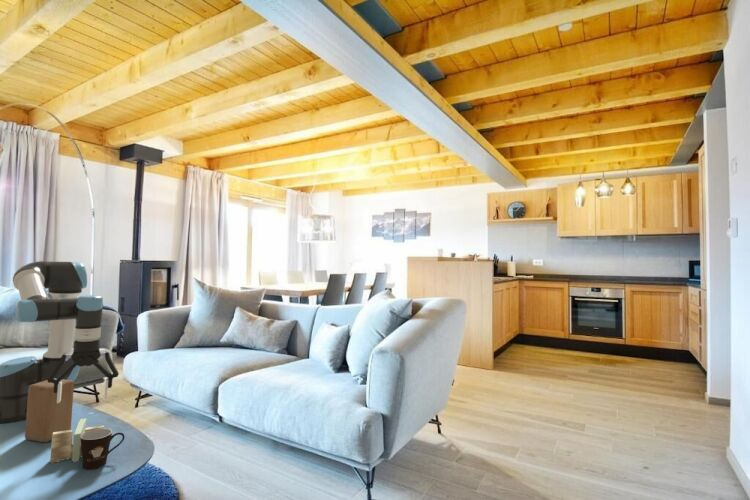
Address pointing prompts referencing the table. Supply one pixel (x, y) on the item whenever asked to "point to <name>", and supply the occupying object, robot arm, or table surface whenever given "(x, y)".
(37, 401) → the wooden block
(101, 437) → the coffee mug
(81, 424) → the sage board
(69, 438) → the birch board
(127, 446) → the table surface
